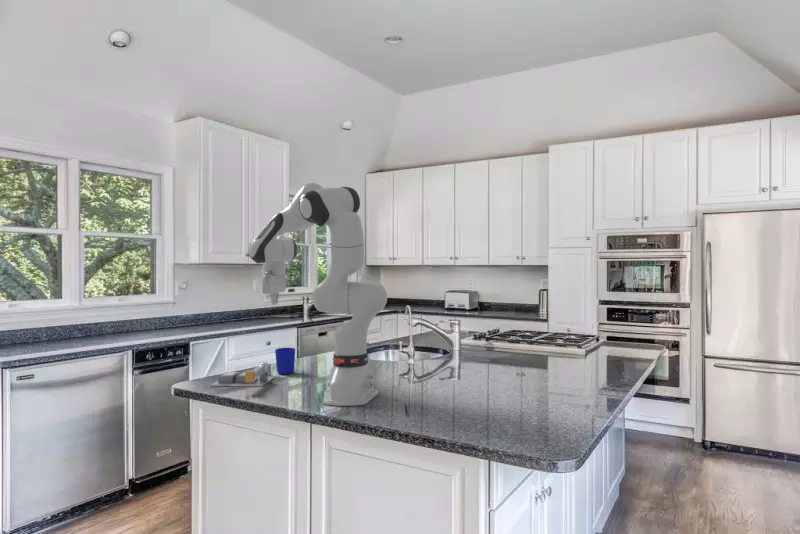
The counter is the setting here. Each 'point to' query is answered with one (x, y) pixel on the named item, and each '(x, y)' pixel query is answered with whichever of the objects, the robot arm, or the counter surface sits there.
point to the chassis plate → (256, 383)
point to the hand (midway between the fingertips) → (274, 304)
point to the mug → (285, 360)
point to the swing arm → (256, 372)
